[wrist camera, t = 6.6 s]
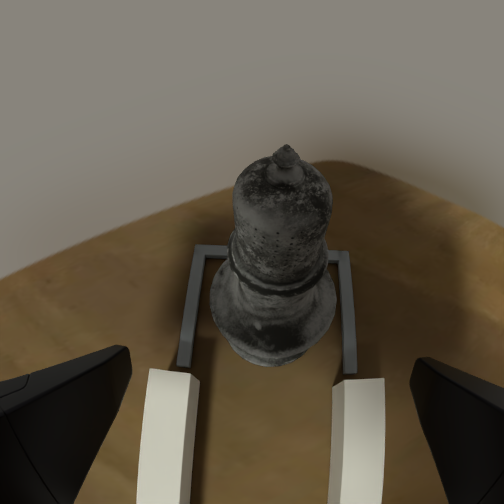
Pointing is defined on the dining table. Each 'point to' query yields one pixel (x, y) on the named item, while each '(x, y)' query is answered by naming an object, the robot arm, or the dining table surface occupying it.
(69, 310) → the dining table surface
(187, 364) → the frame
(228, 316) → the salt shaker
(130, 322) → the dining table surface
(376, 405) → the u-shaped bracket
